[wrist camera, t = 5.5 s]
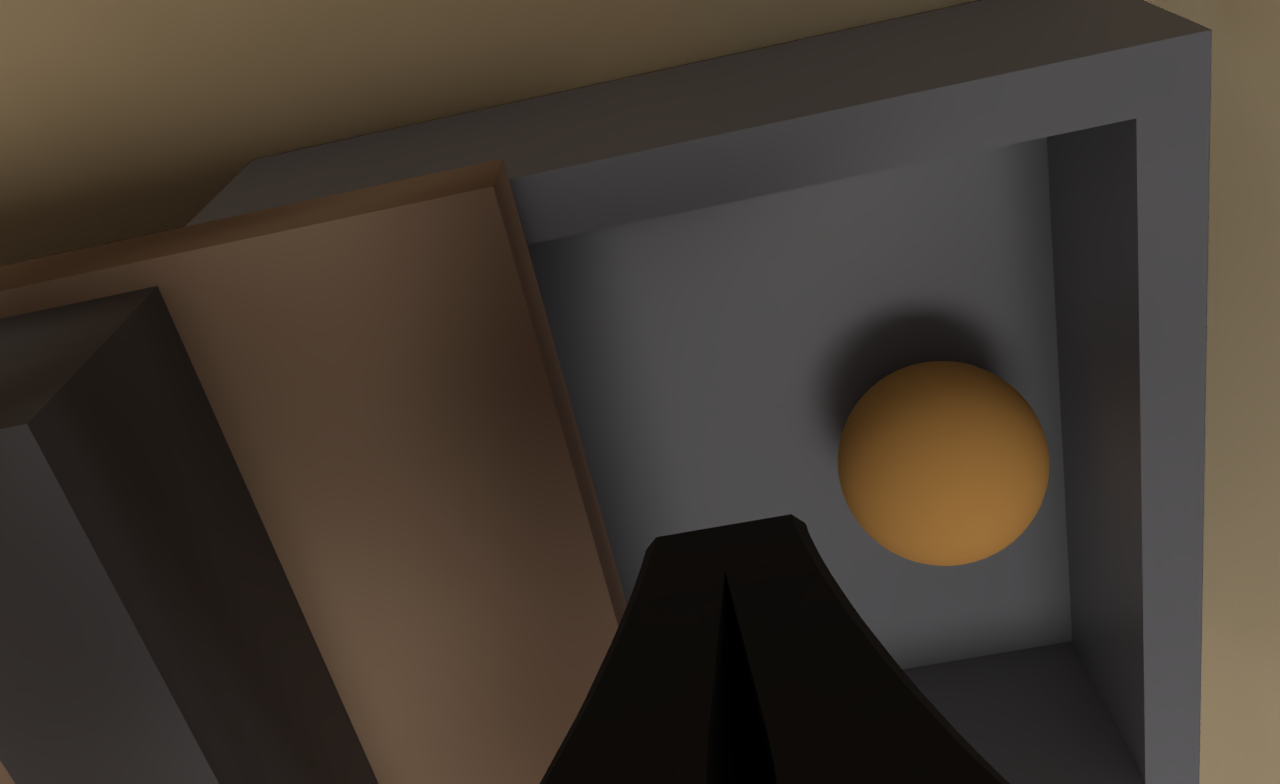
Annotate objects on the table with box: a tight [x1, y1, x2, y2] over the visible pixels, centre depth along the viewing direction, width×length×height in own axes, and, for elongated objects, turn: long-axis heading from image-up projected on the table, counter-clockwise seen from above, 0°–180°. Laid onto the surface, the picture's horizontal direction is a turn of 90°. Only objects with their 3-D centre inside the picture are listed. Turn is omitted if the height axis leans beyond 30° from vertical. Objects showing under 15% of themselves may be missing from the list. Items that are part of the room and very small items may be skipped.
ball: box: [838, 361, 1049, 566], centre depth 17 cm, size 3×3×3 cm
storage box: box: [185, 0, 1212, 784], centre depth 17 cm, size 12×12×4 cm
